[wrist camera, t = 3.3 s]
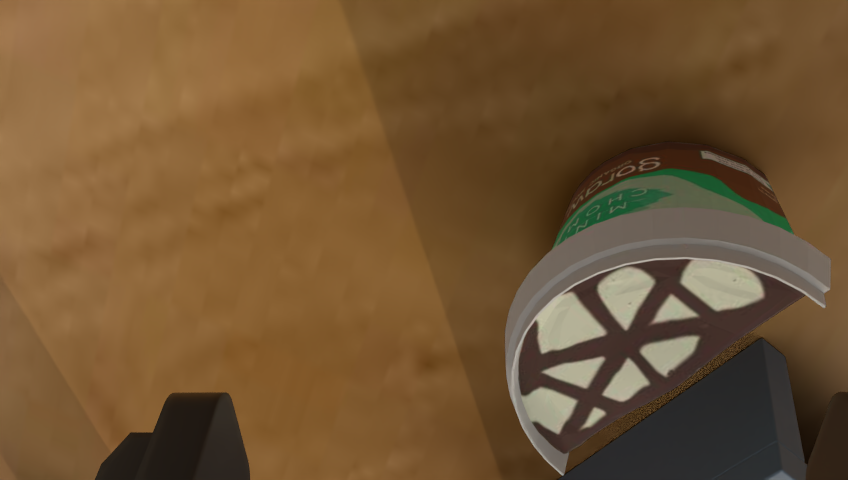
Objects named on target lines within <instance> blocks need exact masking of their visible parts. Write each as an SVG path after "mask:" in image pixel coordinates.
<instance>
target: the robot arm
mask: <svg viewBox="0 0 848 480" xmlns="http://www.w3.org/2000/svg"><path fill="white" fill-rule="evenodd" d="M95 480H250V470H249V463H248V459H247V455H246V451H245V448H244V444H243V440H242V436H241V433H240V429H239V425H238V421H237V417H236V414H235V410H234V406H233V402H232V399H231V397H230V395H229V394H228V393H172V394H170V395H169V397H168V398H167V400H166V401H165V404H164V406H163V408H162V411H161V413H160V416H159V419H158V421H157V424H156V426H155V429H154V431H153V433H130V434H129V435H128V436H127V437H126V438H125V439H124V440H123V441H122V443H121V444H120V445H119V446H118V447H117V448H116V449H115V450H114V451H113V452H112V453H111V454H110V456H109V457H108V458H107V459H106V460H105V461H104V462H103V463H102V464H101V467H100V469H99V471H98V474H97V476H96V478H95ZM806 480H848V392H838V393H836V394H835V395H834V396H833V397H832V399H831V401H830V403H829V406H828V409H827V412H826V414H825V417H824V420H823V423H822V425H821V428H820V431H819V434H818V436H817V439H816V442H815V445H814V448H813V450H812V453H811V456H810V459H809V461H808V465H807V469H806Z"/></svg>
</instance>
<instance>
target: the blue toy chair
mask: <svg viewBox="0 0 848 480" xmlns="http://www.w3.org/2000/svg"><path fill="white" fill-rule="evenodd" d="M804 461H805V460H804V455H803V449H802V444H801V439H800V433H799V428H798V423H797V417H796V412H795V407H794V401H793V396H792V391H791V385H790V380H789V375H788V369H787V364H786V358H785V356H784V355H782V354H781V353H780V352H779V351H777V350H776V349H775V348H774V347H772V346H771V345H770V344H769V343H767V342H766V341H765V340H764V339H762V338H761V339H759V340H758V341H756V342H755V343H753V344H752V345H751V346H749V347H748V348H746V349H745V350H743V351H742V352H740V353H739V354H738V355H736V356H735V357H733V358H732V359H730V360H729V361H728V362H726V363H725V364H723V365H722V366H720V367H719V368H717V369H716V370H715V371H713V372H712V373H710V374H709V375H707V376H706V377H705V378H703V379H702V380H700V381H699V382H697V383H696V384H694V385H693V386H692V387H690V388H689V389H687V390H686V391H684V392H683V393H682V394H680V395H679V396H677V397H676V398H674V399H673V400H672V401H670V402H669V403H667V404H666V405H664V406H663V407H661V408H660V409H659V410H657V411H656V412H654V413H653V414H651V415H650V416H649V417H647V418H646V419H644V420H643V421H641V422H640V423H638V424H637V425H636V426H634V427H633V428H631V429H630V430H628V431H627V432H626V433H624V434H623V435H621V436H620V437H618V438H617V439H616V440H614V441H613V442H611V443H610V444H608V445H607V446H605V447H604V448H603V449H601V450H600V451H598V452H597V453H595V454H594V455H593V456H591V457H590V458H588V459H587V460H585V461H584V462H582V463H581V464H580V465H578V466H577V467H575V468H574V469H572V470H571V471H570V472H568V473H567V474H565V475H564V476H562V477H561V478H560V479H558V480H806V469H807V464H805V463H804Z"/></svg>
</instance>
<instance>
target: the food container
mask: <svg viewBox="0 0 848 480" xmlns="http://www.w3.org/2000/svg"><path fill="white" fill-rule="evenodd" d="M830 274H831V259H830V258H829V257H827V256H826V255H824V254H823V253H822V252H820V251H819V250H818V249H816V248H815V247H814V246H812V245H811V244H810V243H808V242H806V241H805V240H803V239H801V238H799V237H797V236H795V235H794V233H793V231H792V229H791V227H790V225H789V223H788V221H787V219H786V217H785V215H784V212H783V210H782V208H781V206H780V204H779V202H778V200H777V198H776V196H775V194H774V192H773V190H772V188H771V186H770V184H769V182H768V180H767V178H766V176H765V175H764V174H763V173H761V172H760V171H759V170H757V169H756V168H755V167H753V166H752V165H751V164H749V163H748V162H747V161H745V160H744V159H742V158H739V157H737V156H734V155H732V154H729V153H726V152H724V151H721V150H719V149H716V148H713V147H711V146H708V145H702V144H690V143H678V142H663V143H658V144H653V145H647V146H642V147H637V148H632V149H629V150H627V151H625V152H623V153H621V154H619V155H617V156H615V157H613V158H611V159H609V160H607V161H605V162H604V163H603V164H601V165H600V166H599V167H597V168H596V169H595V170H594V171H592V172H591V173H590V174H589V175H588V176H587V178H586V179H585V180H584V181H583V182H582V183H581V184H580V186H579V187H578V189H577V190H576V192H575V194H574V195H573V197H572V199H571V201H570V204H569V206H568V209H567V211H566V214H565V216H564V219H563V222H562V224H561V227H560V229H559V232H558V235H557V237H556V240H555V242H554V245H553V248H552V250H551V251H550V252H548V253H547V254H546V255H545V256H544V257H543V258H542V259H541V260H540V261H539V262H538V264H537V265H536V266H535V267H534V268H533V269H532V270H531V271H530V272H529V274H528V275H527V277H526V278H525V280H524V281H523V283H522V284H521V286H520V287H519V289H518V290H517V293H516V295H515V298H514V300H513V303H512V305H511V307H510V310H509V314H508V319H507V324H506V329H505V359H506V377H507V382H508V387H509V392H510V397H511V400H512V402H513V405H514V407H515V410H516V413H517V415H518V418H519V420H520V423H521V425H522V428H523V430H524V431H525V433H526V435H527V436H528V438H529V439H530V441H531V443H532V444H533V446H534V447H535V448H536V449H537V451H538V452H539V453H540V454H541V455H542V457H543V458H544V459H545V460H546V461H547V462H548V463H549V464H550V465H551V466H552V467H553V468H554V469H556V470H557V471H558V472H559V473H560V474H561V475H562V476H563V475H564V473H565V468H566V464H567V460H568V455H569V452H570V451H572V450H573V449H575V448H577V447H579V446H581V445H582V444H583V443H584V442H585V441H586V440H587V439H589V438H590V437H591V436H593V435H594V434H595V433H597V432H598V431H600V430H602V429H603V428H605V427H606V426H608V425H609V424H611V423H612V422H614V421H616V420H617V419H619V418H621V417H622V416H624V415H626V414H628V413H629V412H631V411H633V410H635V409H637V408H639V407H641V406H643V405H645V404H647V403H649V402H651V401H653V400H655V399H657V398H659V397H660V396H662V395H664V394H666V393H667V392H669V391H671V390H673V389H674V388H676V387H677V386H679V385H680V384H681V383H683V382H684V381H685V380H687V379H688V378H689V377H691V376H692V375H693V374H695V373H696V372H697V371H699V370H700V369H701V368H702V367H703V366H705V365H706V364H707V363H708V362H710V361H711V360H712V359H713V358H715V357H716V356H717V355H719V354H720V353H721V352H723V351H724V350H725V349H727V348H728V347H729V346H730V345H732V344H733V343H734V342H736V341H737V340H739V339H740V338H742V337H743V336H745V335H746V334H748V333H749V332H751V331H752V330H754V329H755V328H757V327H758V326H760V325H761V324H763V323H764V322H766V321H767V320H769V319H770V318H772V317H773V316H775V315H776V314H778V313H779V312H781V311H782V310H784V309H785V308H787V307H788V306H790V305H791V304H793V303H794V302H796V301H798V300H799V299H801V298H802V297H804V296H805V295H806V296H808V297H809V298H811V299H812V300H813V301H815V302H816V303H817V304H819V305H820V306H822V307H823V308H825V307H826V302H825V297H824V293H825V292H827V291H828V290H830Z"/></svg>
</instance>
